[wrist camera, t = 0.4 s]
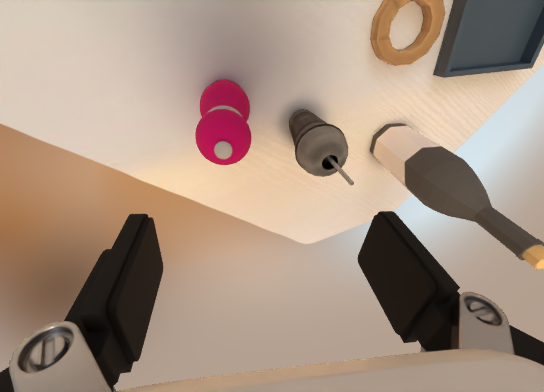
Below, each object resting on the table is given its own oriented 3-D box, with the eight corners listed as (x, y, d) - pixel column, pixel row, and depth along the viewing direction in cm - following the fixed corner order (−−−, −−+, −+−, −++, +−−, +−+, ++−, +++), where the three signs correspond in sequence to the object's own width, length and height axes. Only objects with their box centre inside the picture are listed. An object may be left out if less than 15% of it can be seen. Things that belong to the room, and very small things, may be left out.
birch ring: (377, -13, 35) (384, -15, 33) (443, -18, 36) (454, -20, 34) (366, 66, 41) (372, 68, 39) (424, 60, 41) (432, 61, 40)
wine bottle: (411, 150, 51) (578, 270, 26) (372, 167, 52) (499, 297, 27) (407, 114, 46) (606, 219, 22) (365, 133, 47) (510, 253, 23)
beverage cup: (290, 95, 41) (329, 143, 25) (328, 108, 44) (387, 160, 27) (275, 135, 45) (301, 200, 29) (311, 146, 47) (354, 212, 31)
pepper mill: (251, 80, 39) (266, 123, 23) (244, 125, 43) (253, 189, 27) (203, 71, 38) (184, 110, 22) (201, 118, 42) (183, 182, 25)
